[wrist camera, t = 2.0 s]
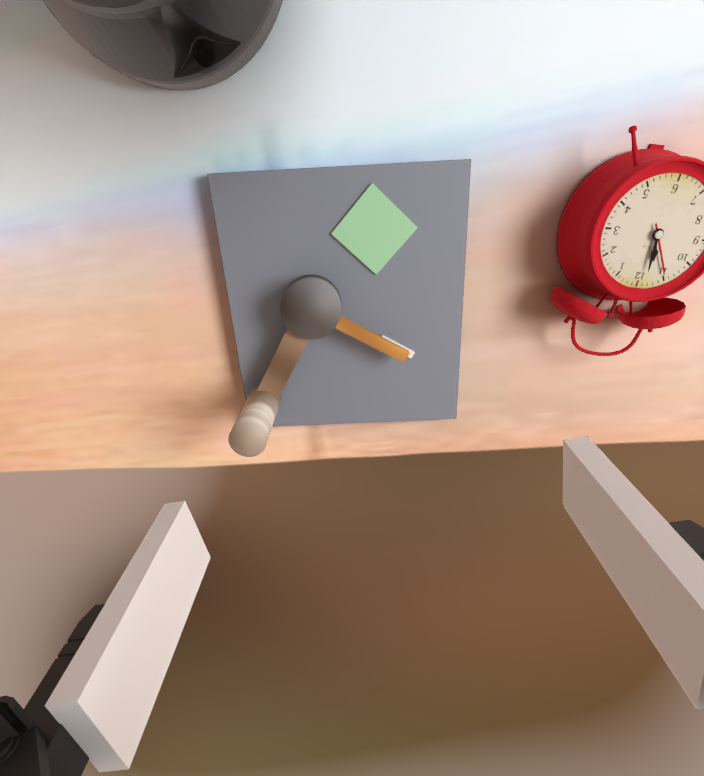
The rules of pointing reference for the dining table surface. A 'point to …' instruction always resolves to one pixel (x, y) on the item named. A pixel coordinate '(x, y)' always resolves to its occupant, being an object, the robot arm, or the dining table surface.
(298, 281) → the peg lever
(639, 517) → the robot arm
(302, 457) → the dining table surface
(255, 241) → the tuner board
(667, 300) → the alarm clock
